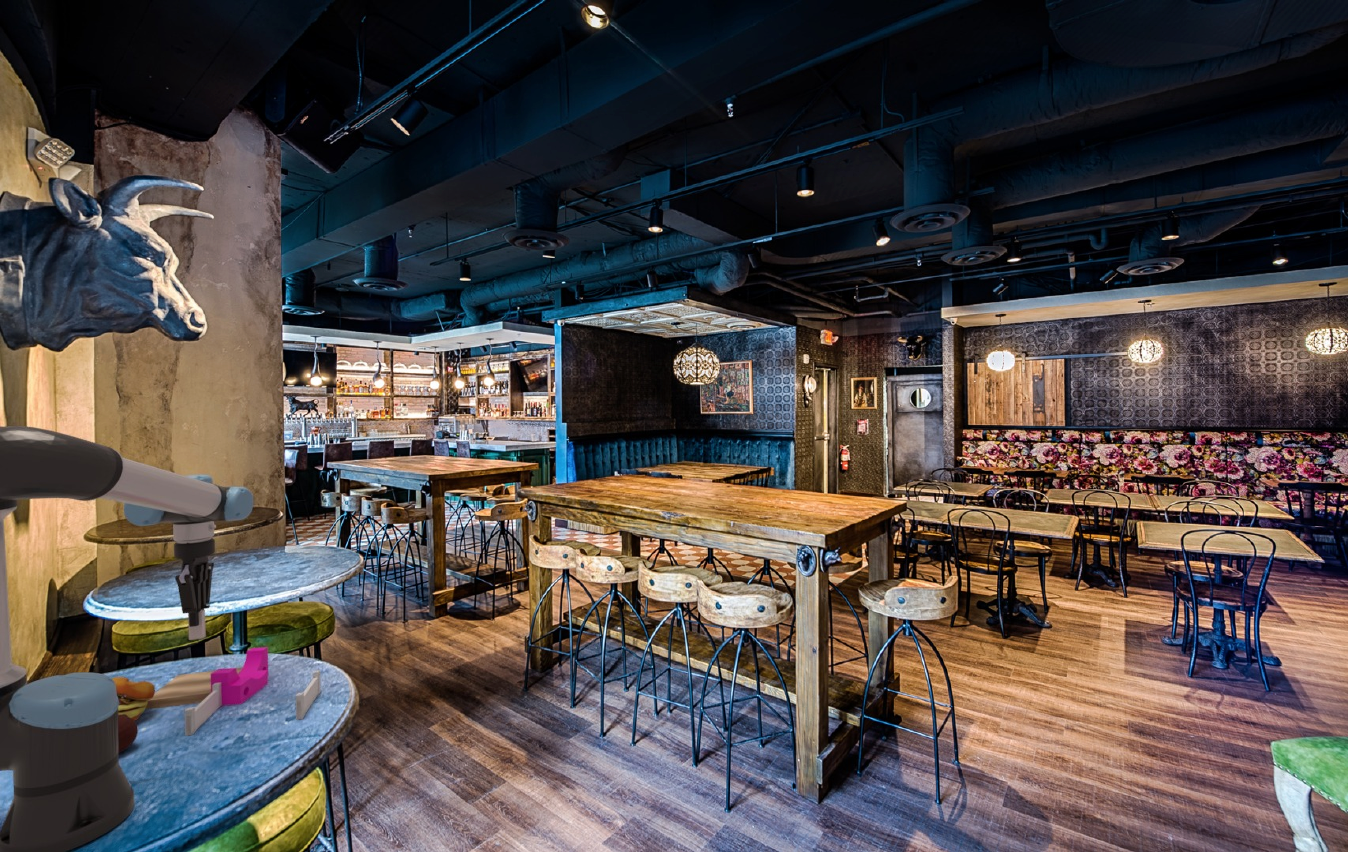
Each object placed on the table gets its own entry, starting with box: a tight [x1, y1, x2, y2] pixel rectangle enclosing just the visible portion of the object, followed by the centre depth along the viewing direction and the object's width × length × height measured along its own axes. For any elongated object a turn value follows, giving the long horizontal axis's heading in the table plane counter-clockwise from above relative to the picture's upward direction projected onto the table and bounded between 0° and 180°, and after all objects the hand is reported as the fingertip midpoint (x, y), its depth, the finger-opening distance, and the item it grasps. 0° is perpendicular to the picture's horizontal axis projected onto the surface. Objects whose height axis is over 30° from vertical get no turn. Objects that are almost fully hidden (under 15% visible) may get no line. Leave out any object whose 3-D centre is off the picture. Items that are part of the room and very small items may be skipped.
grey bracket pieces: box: [184, 669, 322, 737], centre depth 127 cm, size 13×21×5 cm, turn 107°
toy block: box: [211, 646, 269, 706], centre depth 138 cm, size 15×6×8 cm, turn 6°
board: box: [145, 666, 243, 710], centre depth 138 cm, size 14×14×2 cm
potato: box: [118, 715, 139, 754], centre depth 112 cm, size 7×8×7 cm
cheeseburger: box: [111, 676, 156, 722], centre depth 123 cm, size 10×11×10 cm
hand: (197, 637), depth 138 cm, fingers closed
